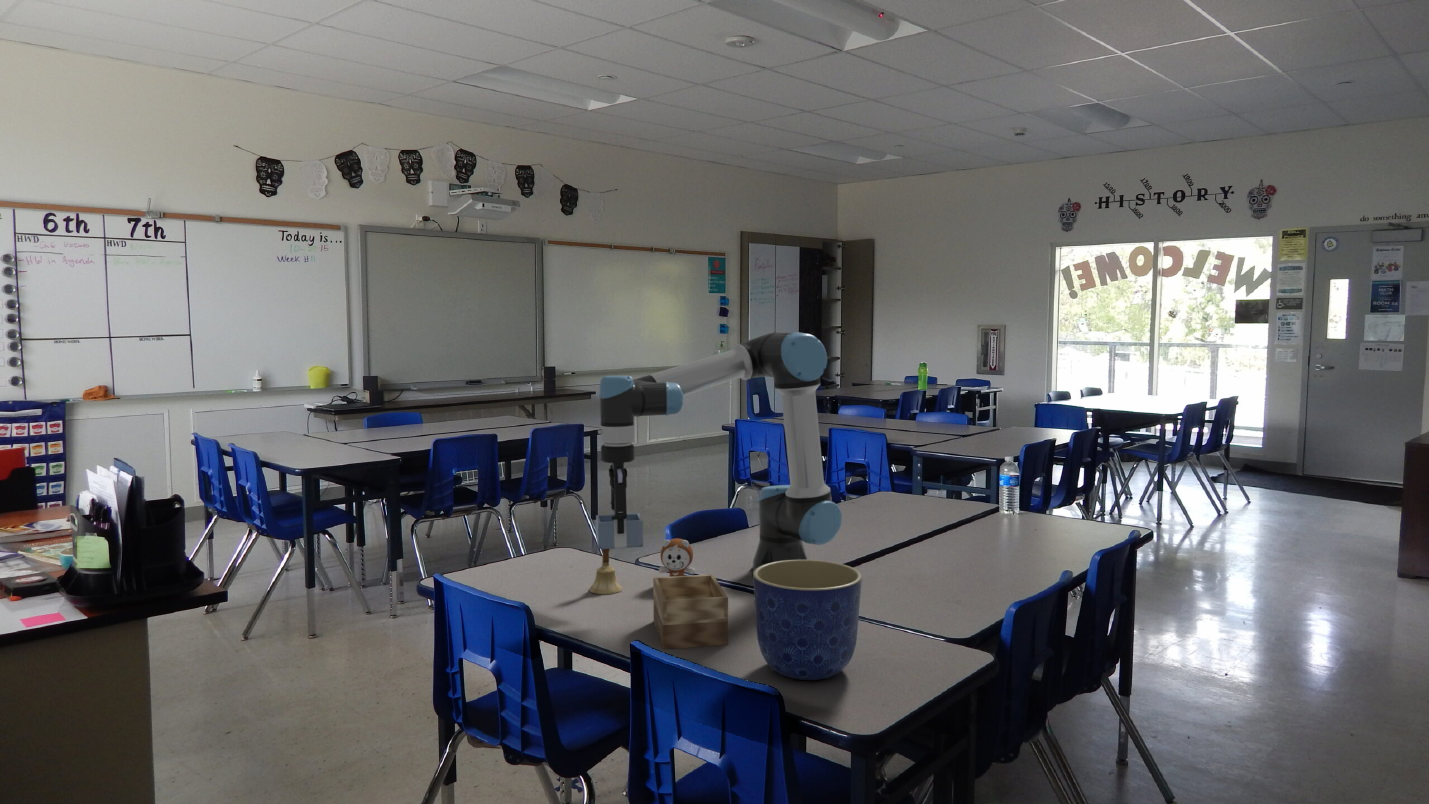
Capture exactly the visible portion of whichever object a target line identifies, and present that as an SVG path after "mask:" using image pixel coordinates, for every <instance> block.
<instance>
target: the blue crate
mask: <svg viewBox="0 0 1429 804" xmlns="http://www.w3.org/2000/svg"><path fill="white" fill-rule="evenodd" d="M612 516H615V514H613V515H611V514H597V515H596V516H595V518H596V519H595V523H596V525H595V529H596V531H595V532H596V533H595V534H596V543H597V548H598V549H597V550H602V549H609V550H611V549H612V550H613V549H616V548H615V547H614V520H612V518H611V517H612ZM643 522H644V520H643V518H642V516H641V514H640V513H639V512H638V513H627V518H626V530H627V547H624V548H623V549H627V548H644V525H643V524H644V523H643Z"/></svg>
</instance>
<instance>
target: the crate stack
mask: <svg viewBox="0 0 1429 804" xmlns="http://www.w3.org/2000/svg"><path fill="white" fill-rule="evenodd" d="M652 581H653V584H652V585H653V586H652V587H653V591H652V592H653V593H652V594H653V599H652V600H653V603H652V604H653V623H654V626H655V629H656V633H657V635H658V638H659V640H660V641H659V642H660V644H661V646H662V649H663V650H665V649H666V650H670V649H683V648H685V649H686V648H697V647H699V648H700V647H714V646H727V645H729V597H728V595H727V594H726V592H725V591H724V589H723V587H722V586H721V585H720V582H719V581H718V580H717V578H716V577H715V575H714V574H699V575H694V574H693V575H684V576H675V577H669V576H659V577H657V576H656V577H653V578H652Z"/></svg>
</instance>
